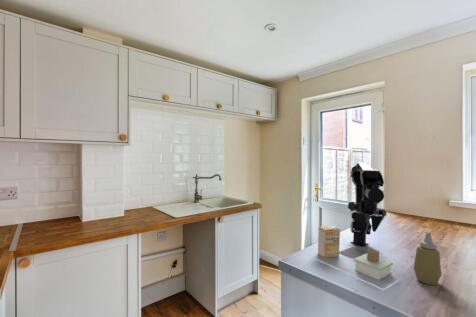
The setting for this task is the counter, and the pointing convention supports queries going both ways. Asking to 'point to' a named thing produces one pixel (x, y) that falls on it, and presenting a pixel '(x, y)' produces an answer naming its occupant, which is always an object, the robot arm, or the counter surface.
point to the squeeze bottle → (427, 261)
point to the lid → (373, 260)
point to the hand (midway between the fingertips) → (368, 233)
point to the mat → (352, 252)
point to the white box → (372, 271)
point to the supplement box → (328, 241)
